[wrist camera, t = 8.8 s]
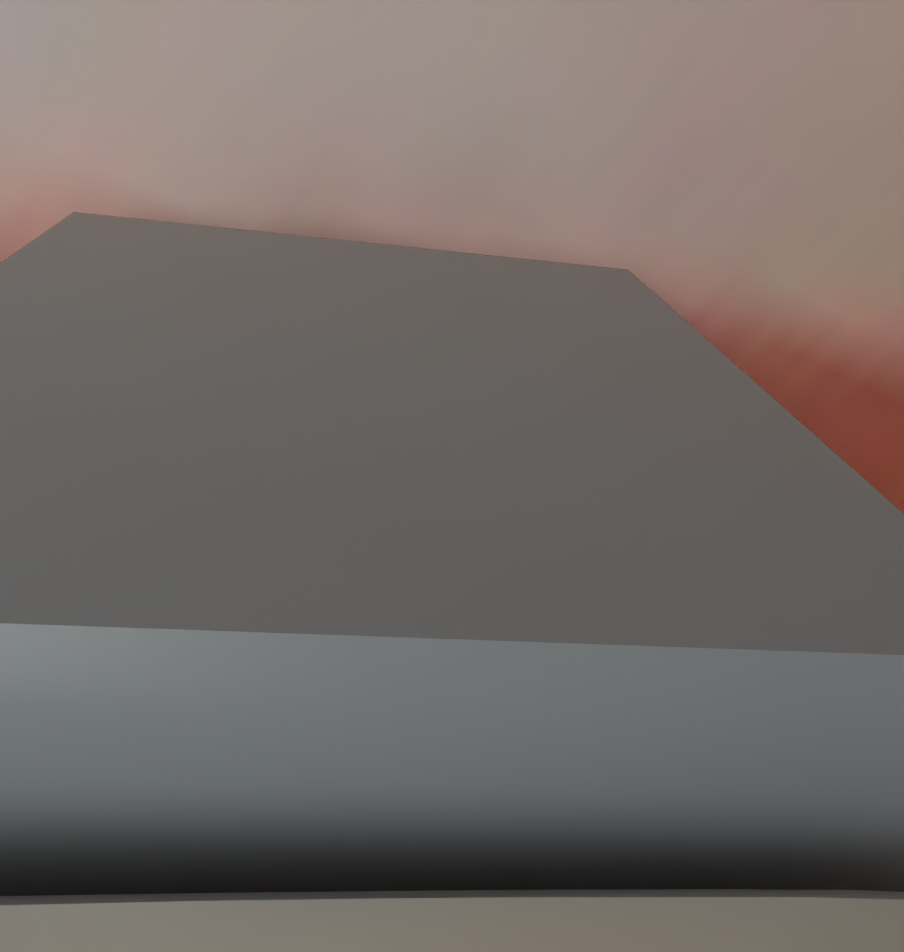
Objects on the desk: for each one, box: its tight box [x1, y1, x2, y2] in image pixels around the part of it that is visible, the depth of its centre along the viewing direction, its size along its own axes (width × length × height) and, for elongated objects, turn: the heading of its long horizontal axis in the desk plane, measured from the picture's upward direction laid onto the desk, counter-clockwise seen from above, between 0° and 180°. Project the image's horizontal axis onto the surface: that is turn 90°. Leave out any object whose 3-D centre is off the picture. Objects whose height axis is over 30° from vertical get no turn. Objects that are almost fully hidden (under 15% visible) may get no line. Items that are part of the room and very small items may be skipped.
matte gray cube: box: [0, 212, 904, 896], centre depth 10 cm, size 8×8×9 cm
